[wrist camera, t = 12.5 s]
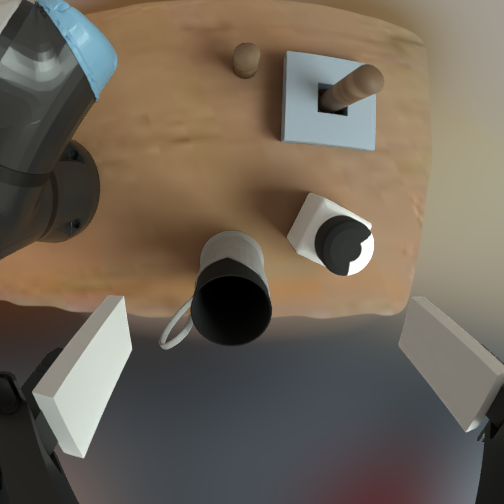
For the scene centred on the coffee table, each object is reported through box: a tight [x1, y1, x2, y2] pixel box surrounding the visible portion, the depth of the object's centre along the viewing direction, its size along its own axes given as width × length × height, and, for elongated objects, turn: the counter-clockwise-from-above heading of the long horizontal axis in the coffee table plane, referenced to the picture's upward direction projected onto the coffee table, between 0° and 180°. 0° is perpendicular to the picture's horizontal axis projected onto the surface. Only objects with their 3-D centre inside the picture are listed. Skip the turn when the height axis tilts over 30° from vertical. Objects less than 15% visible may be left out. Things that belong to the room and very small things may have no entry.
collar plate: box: [281, 51, 376, 151], centre depth 35 cm, size 12×12×3 cm
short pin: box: [234, 43, 260, 79], centre depth 32 cm, size 3×3×6 cm
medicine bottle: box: [287, 192, 374, 276], centre depth 36 cm, size 7×7×12 cm
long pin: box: [318, 64, 384, 114], centre depth 30 cm, size 3×3×14 cm
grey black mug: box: [159, 231, 272, 349], centre depth 35 cm, size 9×14×15 cm, turn 125°
